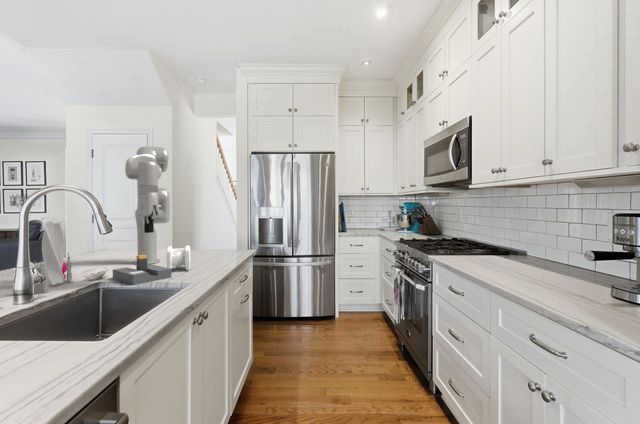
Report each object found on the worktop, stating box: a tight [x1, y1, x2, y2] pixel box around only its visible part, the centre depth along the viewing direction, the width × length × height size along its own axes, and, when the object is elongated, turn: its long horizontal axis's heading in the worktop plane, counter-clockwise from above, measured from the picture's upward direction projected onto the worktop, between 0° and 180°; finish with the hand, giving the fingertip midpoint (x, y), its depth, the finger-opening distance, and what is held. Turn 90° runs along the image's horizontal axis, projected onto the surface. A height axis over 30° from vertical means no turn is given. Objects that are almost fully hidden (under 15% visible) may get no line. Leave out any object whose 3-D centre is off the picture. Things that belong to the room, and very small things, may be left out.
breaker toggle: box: [136, 254, 147, 272], centre depth 142 cm, size 3×3×8 cm
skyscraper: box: [40, 216, 74, 287], centre depth 132 cm, size 8×8×28 cm
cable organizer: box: [166, 244, 192, 271], centre depth 161 cm, size 15×11×12 cm
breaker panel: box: [112, 264, 172, 286], centre depth 142 cm, size 20×16×4 cm
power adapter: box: [30, 260, 50, 295], centre depth 119 cm, size 3×5×12 cm, turn 108°
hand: (149, 232), depth 137 cm, fingers closed
